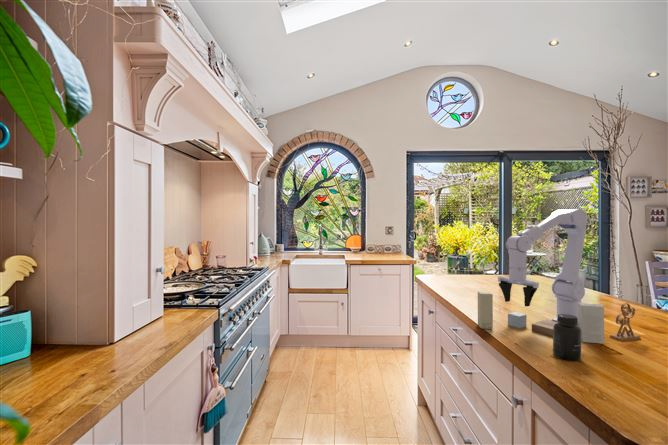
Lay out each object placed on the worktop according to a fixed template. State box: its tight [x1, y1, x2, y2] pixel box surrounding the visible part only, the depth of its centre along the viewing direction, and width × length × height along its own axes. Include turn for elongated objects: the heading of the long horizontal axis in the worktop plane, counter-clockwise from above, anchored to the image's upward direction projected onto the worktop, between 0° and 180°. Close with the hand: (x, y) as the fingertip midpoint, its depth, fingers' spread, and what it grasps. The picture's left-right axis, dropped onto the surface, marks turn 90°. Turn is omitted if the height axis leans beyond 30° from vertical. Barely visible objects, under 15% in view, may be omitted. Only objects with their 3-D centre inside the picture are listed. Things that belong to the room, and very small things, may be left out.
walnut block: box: [531, 319, 558, 338], centre depth 119 cm, size 10×10×3 cm
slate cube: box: [507, 311, 528, 329], centre depth 126 cm, size 4×4×4 cm
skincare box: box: [577, 302, 605, 345], centre depth 111 cm, size 6×4×12 cm
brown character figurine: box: [609, 302, 641, 342], centre depth 113 cm, size 9×4×12 cm, turn 105°
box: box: [477, 290, 494, 330], centre depth 124 cm, size 5×4×13 cm
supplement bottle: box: [552, 314, 582, 362], centre depth 98 cm, size 7×7×12 cm
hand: (517, 303), depth 126 cm, fingers open, 7 cm apart
